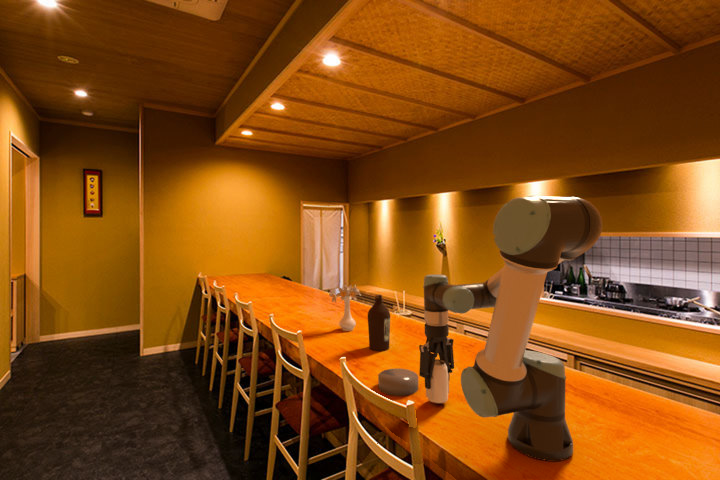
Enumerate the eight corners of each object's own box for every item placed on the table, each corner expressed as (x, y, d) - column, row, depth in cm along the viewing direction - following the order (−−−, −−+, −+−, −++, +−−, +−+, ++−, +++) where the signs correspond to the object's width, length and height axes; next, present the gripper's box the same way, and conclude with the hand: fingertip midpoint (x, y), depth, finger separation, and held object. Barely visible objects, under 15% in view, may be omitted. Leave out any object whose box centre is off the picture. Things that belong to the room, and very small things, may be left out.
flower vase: (326, 330, 206) (325, 285, 205) (352, 324, 218) (351, 282, 217) (341, 335, 196) (340, 288, 195) (367, 329, 208) (366, 284, 208)
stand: (418, 397, 124) (418, 385, 124) (376, 394, 126) (376, 383, 126) (418, 380, 138) (418, 369, 138) (380, 378, 140) (380, 367, 140)
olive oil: (364, 350, 173) (363, 296, 172) (372, 343, 182) (372, 292, 182) (386, 352, 169) (385, 297, 168) (393, 345, 178) (392, 293, 177)
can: (433, 405, 116) (432, 366, 116) (424, 396, 122) (423, 360, 122) (451, 402, 118) (451, 364, 117) (441, 393, 124) (441, 357, 124)
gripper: (447, 316, 128) (448, 383, 129) (406, 326, 117) (407, 399, 117) (465, 320, 122) (466, 390, 123) (423, 330, 111) (425, 407, 111)
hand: (437, 394), depth 120 cm, fingers closed on can, 6 cm apart
